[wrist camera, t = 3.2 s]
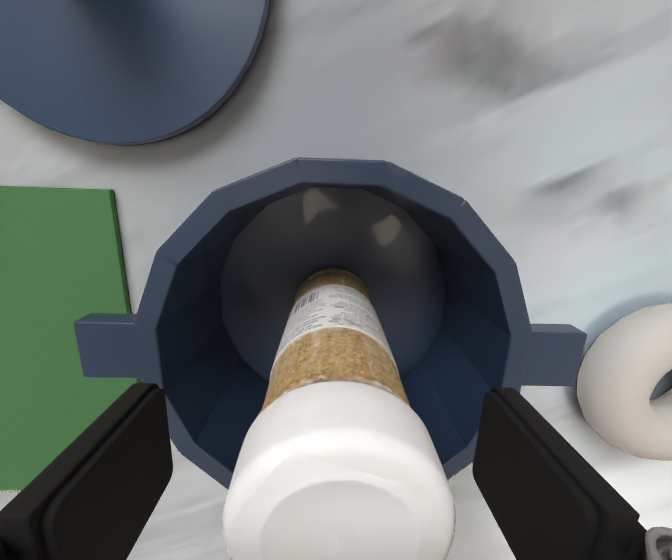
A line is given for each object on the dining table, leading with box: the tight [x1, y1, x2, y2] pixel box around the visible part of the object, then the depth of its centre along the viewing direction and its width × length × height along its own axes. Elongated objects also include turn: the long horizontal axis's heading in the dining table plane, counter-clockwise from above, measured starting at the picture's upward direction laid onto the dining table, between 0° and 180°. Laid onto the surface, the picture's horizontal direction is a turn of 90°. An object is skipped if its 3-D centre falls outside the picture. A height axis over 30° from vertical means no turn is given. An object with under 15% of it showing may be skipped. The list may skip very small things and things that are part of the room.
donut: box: [577, 303, 672, 460], centre depth 19 cm, size 10×3×10 cm
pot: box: [73, 157, 587, 490], centre depth 16 cm, size 15×20×7 cm
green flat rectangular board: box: [0, 186, 141, 490], centre depth 20 cm, size 20×12×1 cm, turn 178°
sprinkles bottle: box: [222, 268, 456, 560], centre depth 12 cm, size 5×5×14 cm
